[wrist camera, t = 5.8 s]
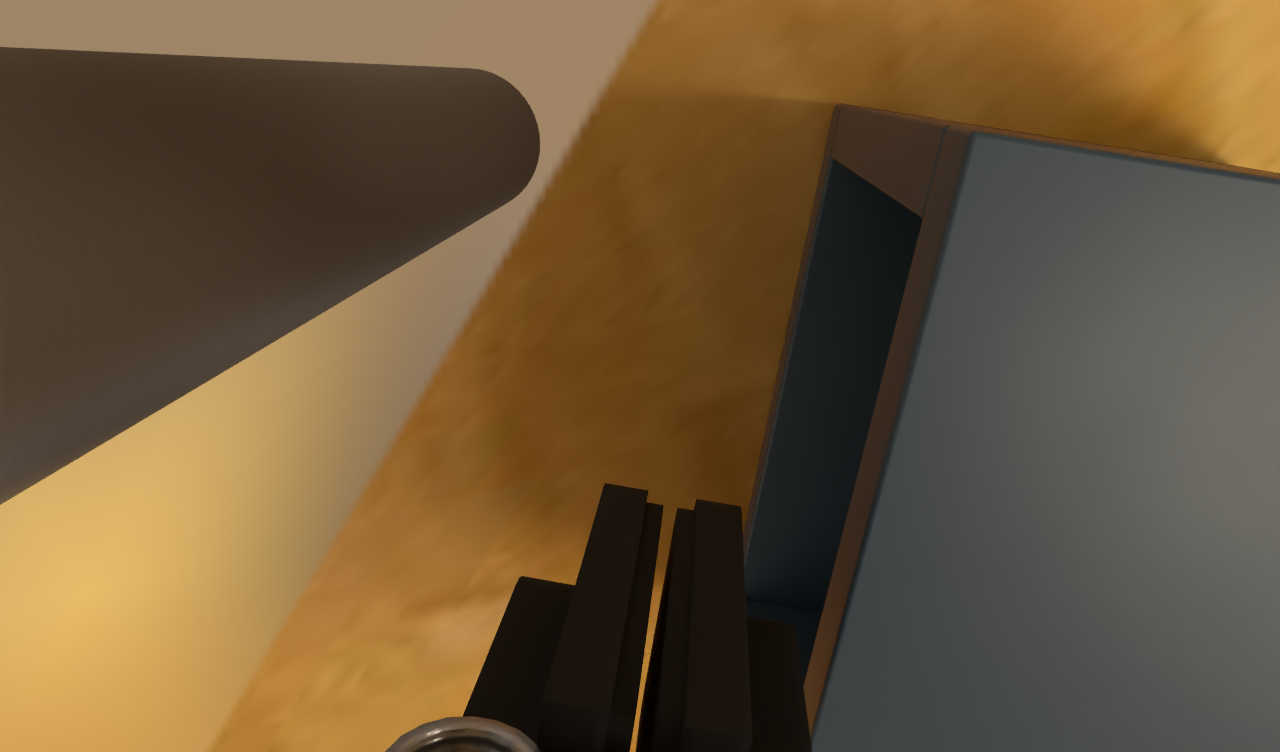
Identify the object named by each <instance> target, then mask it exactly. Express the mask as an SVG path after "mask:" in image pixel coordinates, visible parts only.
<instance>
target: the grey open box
mask: <svg viewBox="0 0 1280 752" xmlns="http://www.w3.org/2000/svg"><path fill="white" fill-rule="evenodd" d="M743 551H744V571H745V592H746V612H747V616H750V617H755V618H761V619H766V620H772V621H778V622H783V623H789V624H792V625H793V626H794V627H795V631H796V636H797V643H798V651H799V658H800V665H801V673H802V680H803V687H804V695H805V702H806V710H807V717H808V724H809V732H810V739H811V746H812V752H1280V173H1274V172H1268V171H1262V170H1256V169H1250V168H1244V167H1238V166H1232V165H1225V164H1219V163H1213V162H1206V161H1200V160H1194V159H1187V158H1181V157H1175V156H1169V155H1162V154H1156V153H1150V152H1143V151H1137V150H1131V149H1124V148H1118V147H1112V146H1105V145H1099V144H1093V143H1087V142H1080V141H1074V140H1068V139H1061V138H1055V137H1049V136H1042V135H1036V134H1030V133H1023V132H1017V131H1011V130H1004V129H998V128H992V127H986V126H979V125H973V124H967V123H960V122H954V121H948V120H941V119H935V118H929V117H922V116H916V115H910V114H903V113H897V112H891V111H885V110H878V109H872V108H866V107H859V106H853V105H847V104H840V103H839V104H836V105H835V106H834V110H833V114H832V119H831V124H830V129H829V133H828V138H827V143H826V147H825V152H824V157H823V161H822V166H821V171H820V175H819V180H818V185H817V190H816V194H815V199H814V204H813V208H812V213H811V218H810V222H809V227H808V232H807V236H806V241H805V246H804V251H803V255H802V260H801V265H800V269H799V274H798V279H797V283H796V288H795V293H794V298H793V302H792V307H791V312H790V316H789V321H788V326H787V330H786V335H785V340H784V344H783V349H782V354H781V359H780V363H779V368H778V373H777V377H776V382H775V387H774V391H773V396H772V401H771V405H770V410H769V415H768V420H767V424H766V429H765V434H764V438H763V443H762V448H761V452H760V457H759V462H758V467H757V471H756V476H755V481H754V485H753V490H752V495H751V499H750V504H749V509H748V513H747V518H746V523H745V528H744V532H743Z"/></svg>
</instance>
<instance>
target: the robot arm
mask: <svg viewBox="0 0 1280 752" xmlns="http://www.w3.org/2000/svg"><path fill="white" fill-rule="evenodd" d="M647 496H648V490H642V489H636V488H630V487H625V486H619V485H613V484H607V483H605V484H604V487H603V491H602V494H601V498H600V501H599V505H598V508H597V512H596V515H595V519H594V522H593V526H592V529H591V533H590V536H589V540H588V543H587V547H586V550H585V554H584V557H583V561H582V564H581V568H580V571H579V574H578V578H577V581H576V585H569V584H564V583H558V582H552V581H547V580H541V579H535V578H530V577H524V576H521V577H520V578H519V580H518V582H517V584H516V586H515V588H514V591H513V593H512V596H511V598H510V601H509V603H508V606H507V608H506V611H505V613H504V616H503V618H502V621H501V623H500V625H499V628H498V630H497V633H496V635H495V638H494V640H493V643H492V645H491V648H490V650H489V653H488V655H487V658H486V660H485V663H484V665H483V668H482V670H481V672H480V675H479V677H478V680H477V682H476V685H475V687H474V690H473V692H472V695H471V697H470V700H469V702H468V705H467V707H466V710H465V712H464V714H463V717H447V718H443V719H440V720H436V721H432V722H429V723H425V724H422V725H420V726H418V727H417V728H415V729H413V730H411V731H409V732H408V733H406V734H404V735H402V736H401V737H400V738H399V739H398V740H397V741H396V742H395V743H394V744H393V745H392V746H391V747H390V748H389V749H387V750H386V751H385V752H629V751H630V745H631V739H632V733H633V727H634V721H635V715H636V708H637V701H638V694H639V687H640V679H641V672H642V664H643V657H644V649H645V642H646V634H647V627H648V619H649V612H650V604H651V597H652V589H653V582H654V574H655V567H656V559H657V552H658V545H659V537H660V530H661V522H662V515H663V507H664V505H660V504H654V503H648V502H647ZM636 752H812V746H811V739H810V732H809V724H808V717H807V710H806V702H805V695H804V687H803V680H802V673H801V665H800V658H799V651H798V643H797V636H796V631H795V627H794V626H793V625H792V624H789V623H783V622H778V621H772V620H766V619H761V618H755V617H750V616H747V612H746V592H745V571H744V551H743V530H742V510H741V507H740V506H734V505H728V504H723V503H717V502H711V501H705V500H700V499H697V500H696V503H695V507H694V510H688V509H683V508H677V513H676V518H675V523H674V529H673V534H672V540H671V545H670V551H669V556H668V562H667V567H666V573H665V578H664V584H663V589H662V595H661V600H660V606H659V612H658V617H657V623H656V628H655V634H654V639H653V645H652V650H651V656H650V661H649V667H648V672H647V678H646V683H645V689H644V695H643V701H642V707H641V714H640V721H639V729H638V737H637V745H636Z"/></svg>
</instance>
